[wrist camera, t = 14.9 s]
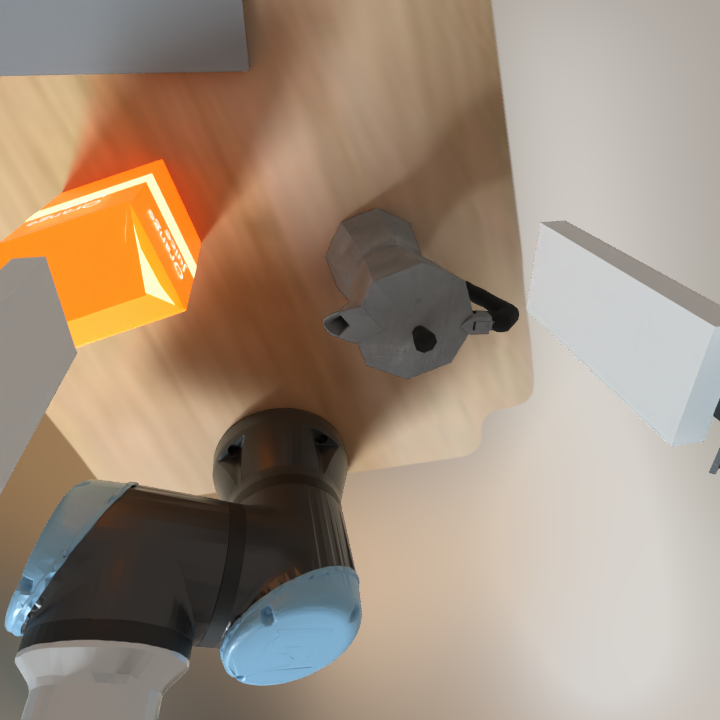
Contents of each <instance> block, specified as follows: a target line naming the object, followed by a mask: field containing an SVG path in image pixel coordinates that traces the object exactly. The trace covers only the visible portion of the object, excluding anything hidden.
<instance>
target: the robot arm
mask: <svg viewBox="0 0 720 720" xmlns="http://www.w3.org/2000/svg"><path fill="white" fill-rule="evenodd" d="M526 311H527V312H528V313H529V314H531V315H532V316H533V317H534V318H535V319H536V320H537V321H538V322H539V323H540V324H541V325H542V326H543V327H544V328H545V329H547V330H548V331H549V332H550V333H551V334H552V335H553V336H554V337H555V338H556V339H557V340H558V341H559V342H560V343H561V344H562V345H564V346H565V347H566V348H567V349H568V350H569V351H570V352H571V353H572V354H573V355H574V356H575V357H576V358H578V360H580V361H581V362H582V363H583V364H584V365H585V366H586V367H587V368H588V369H589V370H590V371H591V372H592V373H593V374H594V375H595V376H597V377H598V378H599V379H600V380H601V381H602V382H603V383H604V384H605V385H606V386H607V387H608V388H609V389H610V390H611V391H613V392H614V393H615V394H616V395H617V396H618V397H619V398H620V399H621V400H622V401H623V402H624V403H625V404H626V405H627V406H628V407H630V408H631V409H632V410H633V411H634V412H635V413H636V414H637V415H638V416H639V417H640V418H641V419H642V420H643V421H644V422H645V423H646V424H648V425H649V426H650V427H651V428H652V429H653V430H654V431H655V432H656V433H657V434H658V435H659V436H660V437H661V438H662V439H664V440H665V441H666V442H667V443H668V444H669V445H670V446H677V445H684V444H691V443H698V442H704V440H705V438H706V435H707V433H708V430H709V427H710V425H711V423H712V420H713V418H714V417H715V418H717V419H718V420H719V421H720V305H719V304H717V303H715V302H713V301H711V300H710V299H708V298H706V297H704V296H702V295H700V294H699V293H697V292H695V291H693V290H691V289H689V288H687V287H686V286H684V285H682V284H680V283H678V282H677V281H675V280H673V279H671V278H669V277H667V276H665V275H664V274H662V273H660V272H658V271H656V270H655V269H653V268H651V267H649V266H647V265H645V264H644V263H642V262H640V261H638V260H636V259H634V258H633V257H631V256H629V255H627V254H625V253H623V252H622V251H620V250H618V249H616V248H614V247H612V246H611V245H609V244H607V243H605V242H603V241H601V240H600V239H598V238H596V237H594V236H592V235H591V234H589V233H587V232H585V231H583V230H581V229H580V228H578V227H576V226H574V225H572V224H570V223H568V222H567V221H556V222H541V223H540V229H539V235H538V242H537V247H536V254H535V259H534V265H533V271H532V277H531V284H530V290H529V296H528V302H527V308H526ZM76 354H77V351H76V348H75V345H74V342H73V339H72V336H71V333H70V329H69V326H68V323H67V320H66V317H65V314H64V311H63V308H62V305H61V302H60V299H59V296H58V293H57V290H56V286H55V283H54V280H53V277H52V274H51V271H50V268H49V265H48V262H47V259H46V256H41V257H27V258H12V259H11V260H10V261H9V262H8V263H7V264H6V265H4V266H3V267H2V268H1V269H0V494H1V492H2V490H3V488H4V487H5V485H6V483H7V481H8V479H9V477H10V476H11V474H12V472H13V470H14V468H15V466H16V464H17V463H18V461H19V459H20V457H21V455H22V453H23V452H24V450H25V448H26V446H27V444H28V442H29V441H30V439H31V437H32V435H33V433H34V431H35V429H36V427H37V426H38V424H39V422H40V420H41V419H42V417H43V415H44V413H45V411H46V409H47V408H48V406H49V404H50V402H51V400H52V398H53V396H54V395H55V393H56V391H57V389H58V387H59V385H60V384H61V382H62V380H63V378H64V376H65V374H66V373H67V371H68V369H69V367H70V365H71V363H72V362H73V360H74V358H75V356H76ZM719 468H720V448H719V451H718V453H717V455H716V458H715V460H714V462H713V465H712V467H711V469H710V471H709V473H712V474H716V472H717V470H718V469H719ZM346 475H347V457H346V453H345V449H344V445H343V442H342V439H341V437H340V435H339V434H338V432H337V431H336V430H335V428H334V427H333V426H332V425H331V424H330V423H328V422H327V421H326V420H324V419H323V418H321V417H319V416H317V415H315V414H312V413H309V412H306V411H302V410H297V409H273V410H267V411H263V412H259V413H256V414H254V415H251V416H249V417H247V418H245V419H243V420H241V421H240V422H238V423H237V424H235V425H234V426H233V427H232V428H231V429H229V430H228V431H227V433H226V434H225V435H224V436H223V437H222V439H221V440H220V442H219V444H218V446H217V448H216V451H215V455H214V463H213V481H214V486H215V489H216V492H217V494H218V496H219V499H220V500H218V499H212V498H207V497H202V496H196V495H191V494H185V493H180V492H175V491H169V490H164V489H158V488H153V487H148V486H142V485H139V484H138V483H137V482H129V483H127V484H126V483H119V482H111V481H103V480H95V479H93V480H86V481H83V482H80V483H79V484H77V485H75V486H74V487H73V488H72V489H71V490H69V491H68V493H67V494H66V495H65V496H64V497H63V499H62V500H61V501H60V503H59V504H58V506H57V507H56V509H55V510H54V512H53V514H52V516H51V517H50V519H49V521H48V522H47V524H46V526H45V528H44V530H43V531H42V533H41V535H40V537H39V539H38V541H37V543H36V545H35V547H34V549H33V551H32V553H31V555H30V557H29V559H28V561H27V564H26V566H25V568H24V571H23V577H22V579H21V580H20V581H19V584H18V586H17V588H16V590H15V592H14V594H13V596H12V599H11V601H10V604H9V607H8V610H7V614H6V618H5V627H6V629H7V630H8V631H9V632H12V633H13V634H14V635H15V636H23V638H22V641H21V644H20V647H19V650H18V652H17V655H16V658H15V663H16V665H17V666H18V668H19V670H20V672H21V673H22V675H23V677H24V678H25V680H26V682H27V683H28V687H29V692H30V693H29V696H28V699H27V702H26V706H25V709H24V712H23V715H22V718H21V720H158V716H159V710H160V705H161V699H162V696H163V695H164V693H165V691H166V690H167V689H168V688H169V687H170V686H171V685H172V684H173V683H174V682H175V681H177V680H178V679H179V678H180V677H181V676H182V675H183V674H184V673H185V672H186V671H187V670H188V668H189V661H190V655H191V649H192V646H193V647H208V648H217V649H220V652H221V653H220V658H221V660H222V662H223V665H224V667H225V669H226V671H227V673H228V674H229V675H231V676H232V677H236V678H237V680H238V681H240V682H243V683H247V684H251V685H274V684H281V683H286V682H290V681H293V680H297V679H300V678H303V677H305V676H308V675H310V674H312V673H314V672H316V671H317V670H319V669H321V668H323V667H325V666H327V665H328V664H330V663H331V662H333V661H334V660H335V659H337V658H338V657H339V656H340V655H341V654H342V653H343V652H344V651H345V650H346V649H347V648H348V647H349V645H350V644H351V643H352V641H353V640H354V638H355V637H356V635H357V632H358V630H359V628H360V624H361V617H362V611H361V601H360V593H359V578H358V575H357V574H356V571H355V567H354V562H353V558H352V553H351V548H350V544H349V540H348V535H347V530H346V526H345V521H344V517H343V512H342V508H341V499H342V494H343V489H344V484H345V480H346Z"/></svg>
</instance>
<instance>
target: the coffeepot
mask: <svg viewBox="0 0 720 720" xmlns="http://www.w3.org/2000/svg"><path fill="white" fill-rule="evenodd" d="M325 257H326V260H327V262H328V265H329V267H330V270H331V272H332V275H333V278H334V280H335V283H336V285H337V288H338V289H339V290H340V291H341V293H342V294H343V295H344V296H345V297H346V298H347V299H348V300H349V302H348V303H347V304H346V305H345V306H344V307H343V308H341V309H340V310H339V311H338V312H336V313H332V314H330V315H329V316H327V317H325V318H324V319H323V325H324V328H325V330H326V331H327V332H328V333H329V334H330V335H332V336H335V337H337V338H340V339H343V340H346V341H349V342H353V343H356V344H358V346H359V349H360V351H361V354H362V356H363V358H364V361H365V363H366V365H367V366H370V367H373V368H376V369H379V370H382V371H384V372H387V373H390V374H393V375H396V376H399V377H402V378H405V379H409V378H412V377H414V376H417V375H420V374H422V373H425V372H427V371H430V370H433V369H435V368H438V367H440V366H443V365H445V364H448V363H451V362H452V360H453V358H454V357H455V355H456V353H457V352H458V350H459V349H460V347H461V345H462V344H463V342H464V341H465V339H466V337H467V336H468V334H470V335H473V334H489V330H494V331H496V332H506V331H508V330H509V329H510V328H511V327H512V326H513V325H514V324H515V323H516V321H517V320H518V317H519V311H518V309H517V308H516V307H515V306H514V305H512V304H510V303H508V302H506V301H504V300H502V299H500V298H498V297H496V296H494V295H492V294H491V293H489V292H487V291H486V290H484V289H482V288H480V287H477V286H475V285H473V284H471V283H470V282H468V281H465V280H462V279H460V278H459V277H457V276H455V275H454V274H452V273H450V272H449V271H447V270H445V269H444V268H442V267H440V266H439V265H437V264H435V263H434V262H432V261H430V260H429V259H427V258H425V257H423V256H421V253H420V250H419V247H418V244H417V242H416V239H415V236H414V233H413V230H412V227H411V224H410V223H408V222H406V221H404V220H402V219H400V218H398V217H396V216H394V215H392V214H389V213H387V212H385V211H383V210H381V209H379V208H376V209H373V210H371V211H368V212H365V213H361V214H358V215H356V216H354V217H352V218H350V219H348V220H345V221H343V222H341V224H340V226H339V228H338V230H337V232H336V234H335V236H334V237H333V239H332V242H331V245H330V247H329V250H328V252H327V254H326V256H325ZM470 300H471V301H472V302H473V303H475V304H477V305H480V306H482V307H484V308H485V309H487V310H488V311H472V307H471V303H470Z"/></svg>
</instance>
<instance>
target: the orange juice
mask: <svg viewBox="0 0 720 720" xmlns="http://www.w3.org/2000/svg"><path fill="white" fill-rule="evenodd" d="M200 245H201V241H200V239H199V237H198V235H197V233H196V230H195V228H194V226H193V224H192V222H191V220H190V218H189V215H188V213H187V211H186V209H185V207H184V205H183V202H182V200H181V198H180V196H179V194H178V192H177V190H176V187H175V185H174V183H173V181H172V179H171V177H170V174H169V172H168V170H167V168H166V166H165V164H164V161H163V159H161V160H158V161H155V162H152V163H149V164H146V165H143V166H140V167H137V168H134V169H131V170H128V171H125V172H122V173H119V174H116V175H113V176H110V177H107V178H104V179H101V180H98V181H96V182H93V183H90V184H87V185H84V186H81V187H78V188H75V189H72V190H69V191H66V192H63V193H61V194H60V195H59V196H57V197H56V198H55V199H54V200H52V201H51V202H50V203H49V204H47V205H46V206H45V207H44V208H43V209H41V210H40V211H38V212H36V213H35V214H34V215H33V216H31V217H30V218H29V219H28V220H26V221H25V223H24V224H23V225H21V226H20V227H19V228H18V229H17V230H15V231H14V232H13V233H12V234H10V235H9V236H8V237H7V238H5V239H4V240H3V241H2V242H0V269H1V268H2V267H3V266H4V265H6V264H7V263H8V262H9V261H10V260H11V259H12V258H27V257H41V256H46V259H47V262H48V265H49V268H50V271H51V274H52V277H53V280H54V283H55V286H56V290H57V293H58V296H59V299H60V302H61V305H62V308H63V311H64V314H65V317H66V320H67V323H68V326H69V329H70V333H71V336H72V339H73V342H74V345H75V348H78V347H81V346H84V345H87V344H90V343H93V342H96V341H99V340H102V339H105V338H108V337H111V336H114V335H117V334H120V333H122V332H125V331H128V330H131V329H134V328H137V327H140V326H143V325H146V324H149V323H152V322H155V321H158V320H161V319H164V318H167V317H169V316H172V315H175V314H178V313H181V312H184V311H186V309H187V305H188V300H189V296H190V291H191V286H192V282H193V278H194V276H195V272H196V267H197V266H196V264H197V259H198V254H199V250H200Z"/></svg>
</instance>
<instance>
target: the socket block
mask: <svg viewBox="0 0 720 720" xmlns="http://www.w3.org/2000/svg"><path fill="white" fill-rule="evenodd" d="M228 71H249V62H248V52H247V43H246V33H245V23H244V13H243V4H242V0H0V76H25V75H76V74H126V73H177V72H228Z"/></svg>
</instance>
